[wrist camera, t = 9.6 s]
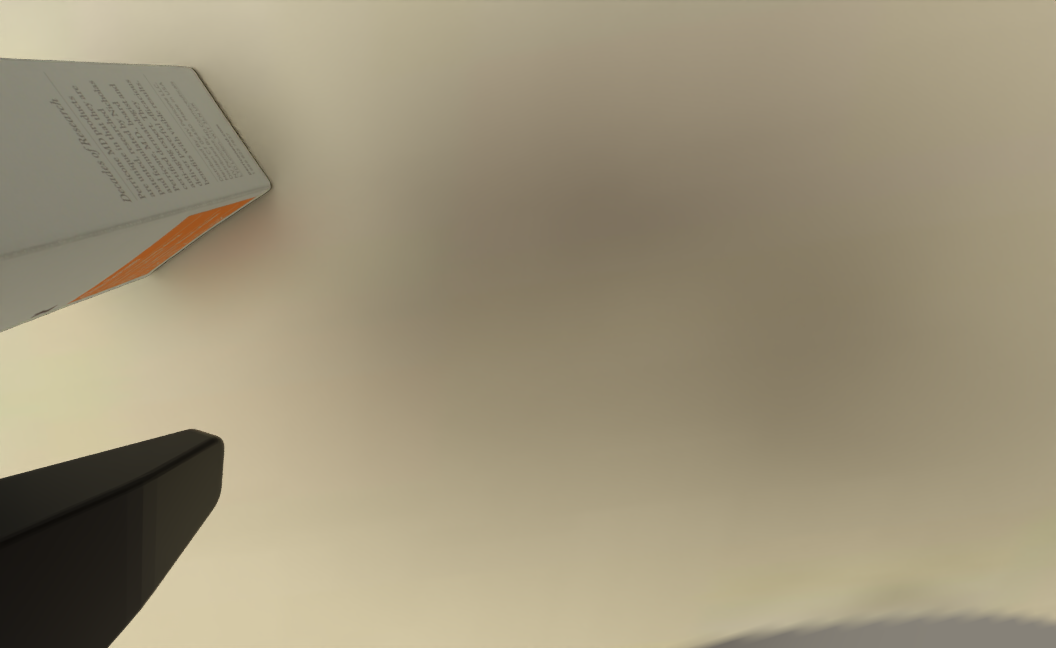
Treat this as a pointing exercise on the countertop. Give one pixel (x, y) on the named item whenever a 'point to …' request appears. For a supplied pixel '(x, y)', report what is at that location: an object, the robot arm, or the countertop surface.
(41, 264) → the skincare box
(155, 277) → the countertop surface
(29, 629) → the robot arm
